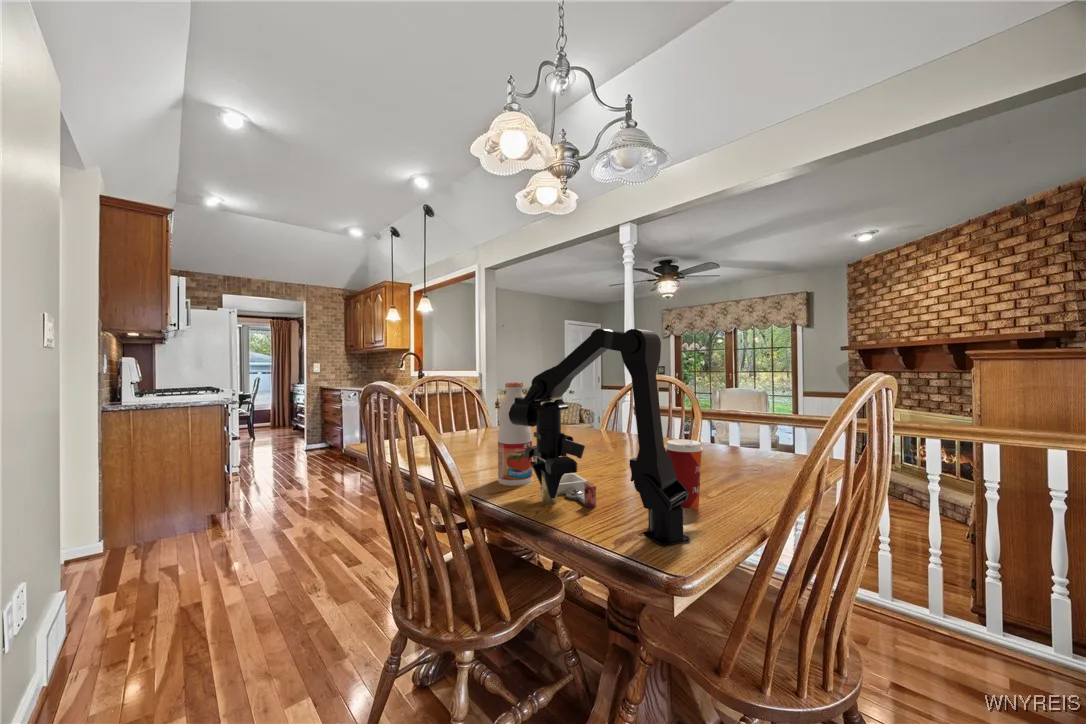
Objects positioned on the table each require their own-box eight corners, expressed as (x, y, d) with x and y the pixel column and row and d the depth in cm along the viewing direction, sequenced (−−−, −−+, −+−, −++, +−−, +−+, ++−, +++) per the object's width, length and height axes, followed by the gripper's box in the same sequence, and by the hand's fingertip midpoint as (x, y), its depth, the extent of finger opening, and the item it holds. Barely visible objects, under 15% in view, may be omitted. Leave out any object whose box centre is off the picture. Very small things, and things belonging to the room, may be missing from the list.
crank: (562, 494, 104) (562, 475, 104) (581, 492, 106) (580, 472, 106) (583, 510, 93) (583, 488, 93) (604, 507, 95) (603, 485, 95)
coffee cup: (709, 514, 92) (708, 445, 92) (671, 514, 93) (670, 445, 93) (696, 501, 101) (695, 438, 101) (661, 502, 101) (660, 438, 101)
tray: (588, 490, 107) (588, 481, 107) (557, 495, 104) (556, 484, 104) (574, 482, 115) (574, 472, 115) (544, 485, 112) (544, 476, 112)
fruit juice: (517, 478, 124) (516, 381, 124) (539, 484, 117) (538, 382, 117) (491, 484, 117) (490, 383, 117) (512, 492, 110) (511, 384, 110)
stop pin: (559, 503, 98) (559, 473, 98) (545, 505, 96) (544, 474, 96) (553, 498, 101) (553, 469, 101) (539, 500, 100) (539, 470, 100)
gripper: (598, 432, 93) (599, 503, 93) (564, 421, 110) (565, 481, 110) (551, 435, 89) (552, 510, 89) (523, 424, 106) (524, 486, 106)
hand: (549, 495), depth 99 cm, fingers closed on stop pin, 4 cm apart
